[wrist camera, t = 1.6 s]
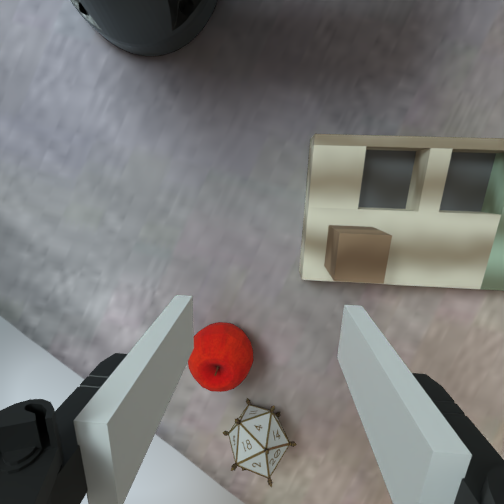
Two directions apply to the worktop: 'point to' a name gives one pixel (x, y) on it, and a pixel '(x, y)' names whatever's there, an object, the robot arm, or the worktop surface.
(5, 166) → the worktop surface
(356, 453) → the worktop surface
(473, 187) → the shape sorter board
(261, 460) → the game die
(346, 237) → the block
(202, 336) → the apple
